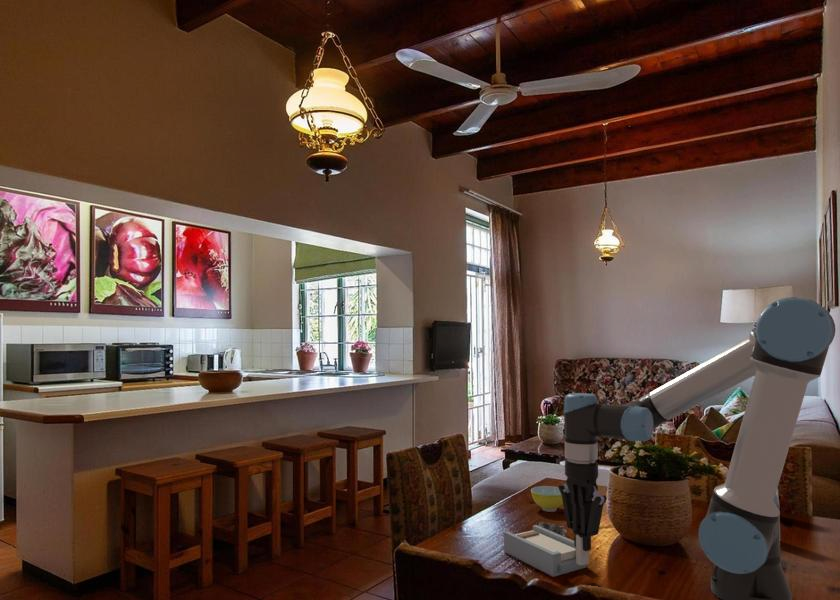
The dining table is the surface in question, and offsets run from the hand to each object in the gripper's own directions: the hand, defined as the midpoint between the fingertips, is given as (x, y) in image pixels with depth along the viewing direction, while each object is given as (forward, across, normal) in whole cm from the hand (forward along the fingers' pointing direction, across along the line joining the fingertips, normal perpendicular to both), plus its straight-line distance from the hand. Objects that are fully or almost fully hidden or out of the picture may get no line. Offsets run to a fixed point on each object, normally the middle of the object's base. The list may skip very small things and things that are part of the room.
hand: (582, 563), depth 132 cm
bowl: (+4, +43, -30) cm, 52 cm away
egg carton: (+4, +22, -11) cm, 25 cm away
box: (+3, +13, 0) cm, 13 cm away
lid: (+1, +14, 0) cm, 14 cm away
